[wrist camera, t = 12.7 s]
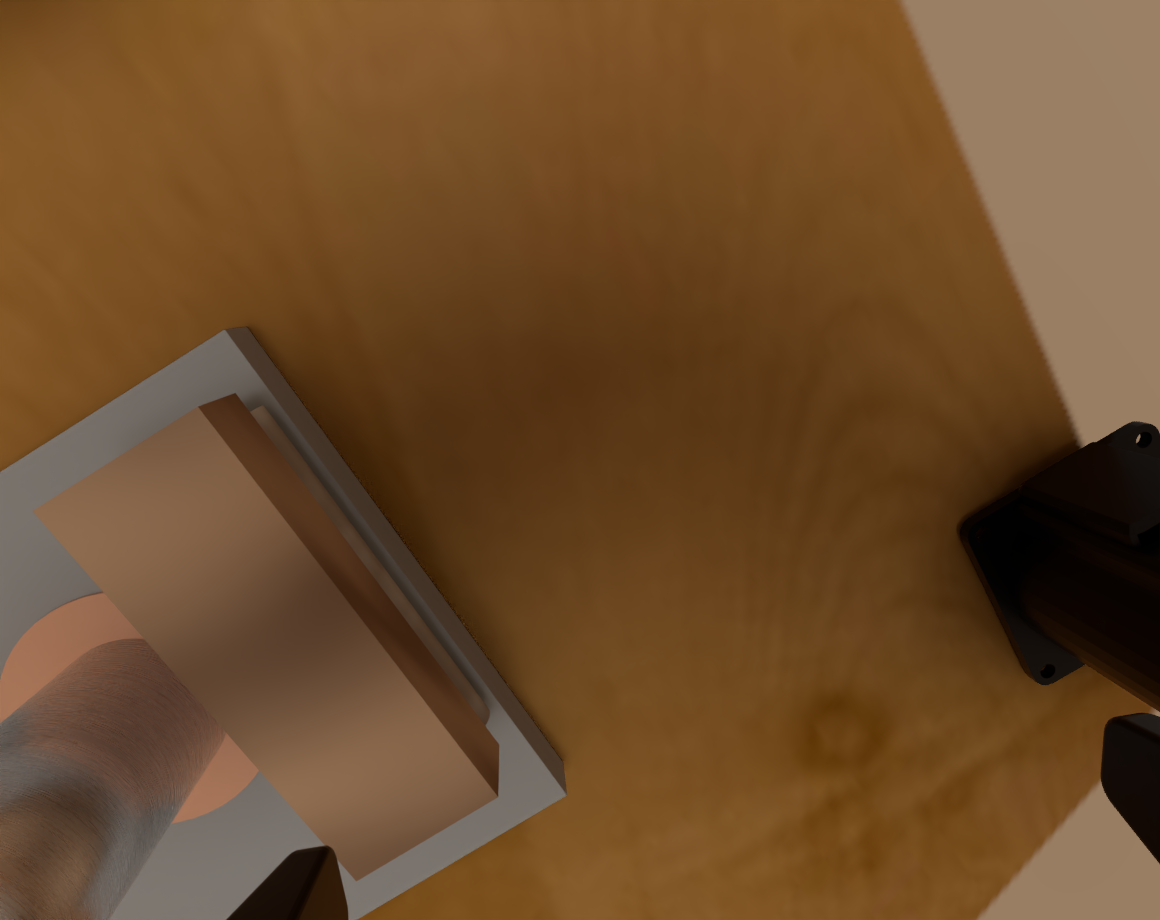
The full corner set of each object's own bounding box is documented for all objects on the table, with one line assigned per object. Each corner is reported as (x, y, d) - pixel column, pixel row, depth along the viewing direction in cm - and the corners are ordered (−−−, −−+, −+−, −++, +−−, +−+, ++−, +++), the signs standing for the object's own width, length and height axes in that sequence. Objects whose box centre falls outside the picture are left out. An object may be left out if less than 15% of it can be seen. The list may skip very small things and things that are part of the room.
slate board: (563, 762, 23) (567, 799, 21) (172, 995, 23) (146, 1048, 22) (246, 326, 19) (221, 329, 17) (-214, 619, 19) (-282, 649, 18)
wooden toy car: (500, 710, 20) (498, 796, 17) (382, 781, 20) (356, 881, 17) (259, 383, 18) (197, 406, 14) (126, 468, 18) (32, 511, 14)
